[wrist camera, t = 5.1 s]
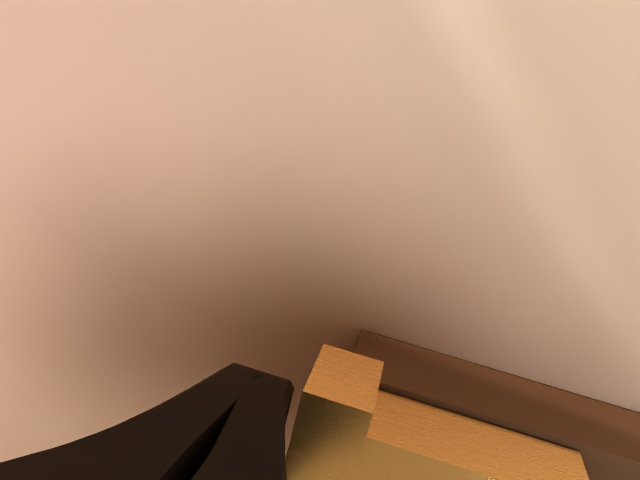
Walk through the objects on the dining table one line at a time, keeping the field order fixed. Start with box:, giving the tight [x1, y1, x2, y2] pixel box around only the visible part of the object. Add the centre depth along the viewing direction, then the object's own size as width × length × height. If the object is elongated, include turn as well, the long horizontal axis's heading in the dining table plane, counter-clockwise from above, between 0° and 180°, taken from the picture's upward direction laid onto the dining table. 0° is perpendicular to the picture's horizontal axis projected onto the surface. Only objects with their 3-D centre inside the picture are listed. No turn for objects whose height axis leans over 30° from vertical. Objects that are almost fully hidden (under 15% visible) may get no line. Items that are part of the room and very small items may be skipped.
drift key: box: [285, 344, 589, 480], centre depth 11 cm, size 3×5×2 cm, turn 77°
